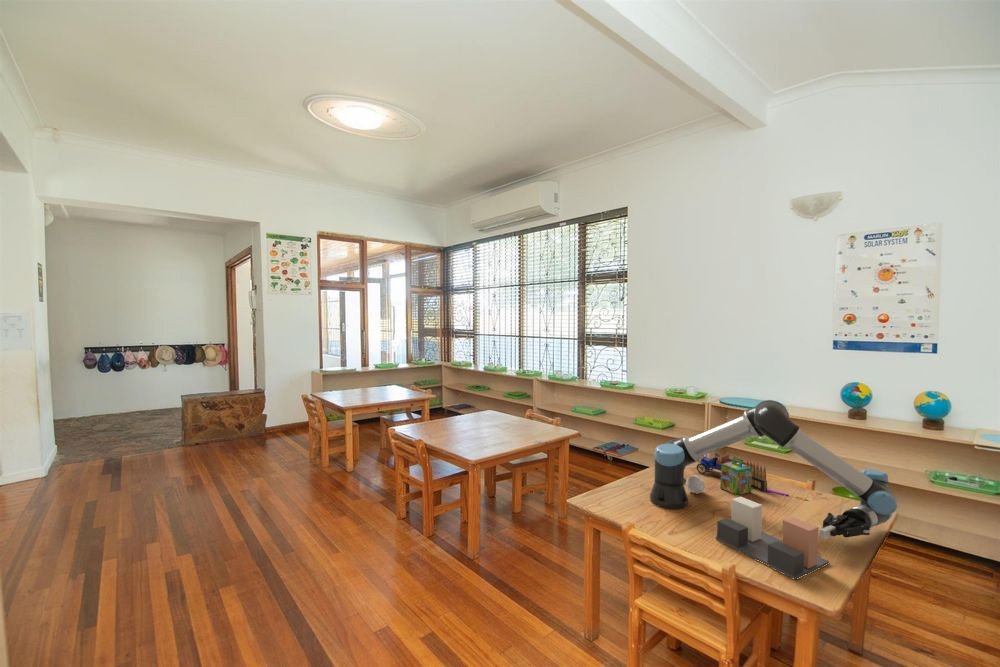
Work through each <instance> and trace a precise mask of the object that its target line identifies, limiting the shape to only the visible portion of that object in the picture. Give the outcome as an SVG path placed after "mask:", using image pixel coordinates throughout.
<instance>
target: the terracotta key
mask: <svg viewBox="0 0 1000 667" xmlns="http://www.w3.org/2000/svg"><path fill="white" fill-rule="evenodd" d="M781 533H782V538H781V540H782V543H783V544H786V545H788V546H790V547H792V548H794V549H797V550H799V551H801V552H803V553H804V567H806V568H810V567H813V566H815V565H817V556H819V555H818V554H819V553H818V552H819V550H818V549H819V526H816V525H814V524H812V523H808V522H806V521H804V520H802V519H798V518H797V517H793V516H791V517H787V518H784V519H782V532H781Z"/></svg>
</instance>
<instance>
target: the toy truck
mask: <svg viewBox="0 0 1000 667" xmlns="http://www.w3.org/2000/svg"><path fill="white" fill-rule="evenodd" d="M700 458H701V459H700V460H699V461H698V464H696V471H697V472H698V473H699V474H701V473H702V475H705V474H707V473H709V472H712V473H716V474H718V475H721V464H724V463H730V462H732V461H733V458H732V459H731V458H730V453H727V454H725V455H722V456H721V458H720V455H718V453H717V452H715V453H714V457H712V458H710V457H707V456H701V457H700ZM735 462H738V463H740V462H739V461H738V460H736V461H735ZM742 464H744V465H746V461H745V462H744V461H743V463H742ZM752 465H753V463H752ZM719 471H720V472H719Z"/></svg>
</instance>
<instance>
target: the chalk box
mask: <svg viewBox="0 0 1000 667" xmlns="http://www.w3.org/2000/svg"><path fill="white" fill-rule="evenodd" d="M732 460H733V461H732V462H730V463H724V464H721V471H720V473H721V474H720V484H719V485H720V489H722V490H724V491H726V492H728V493H730V494H733V495H735V494H736V495H735V496H737V495H738V496H741V495H745V493H746V494H749V493H751V492H752V487H751V480H752V468H751V467H749V466H746V465H744V464H742V463H743V462H744V460H743V459H742V458H739V457H736V456H733V457H732ZM735 461H739V462H740V463H738V462H735Z"/></svg>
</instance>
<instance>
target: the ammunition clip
mask: <svg viewBox="0 0 1000 667" xmlns="http://www.w3.org/2000/svg"><path fill="white" fill-rule="evenodd" d="M745 463H746V466H749V467H751V468H752V480H751V488H752V487H753V488H752V489H755V490H757V489H758V490H757V491H759V490H760V491H759V492H762V493H768V492H767V489H768V480H767V468H766V465H763V466H762V463H760V465H759V463H758V462H755V461H752V460H749V459H748V458H747V459H746V461H745ZM752 464H753V465H752Z"/></svg>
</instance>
